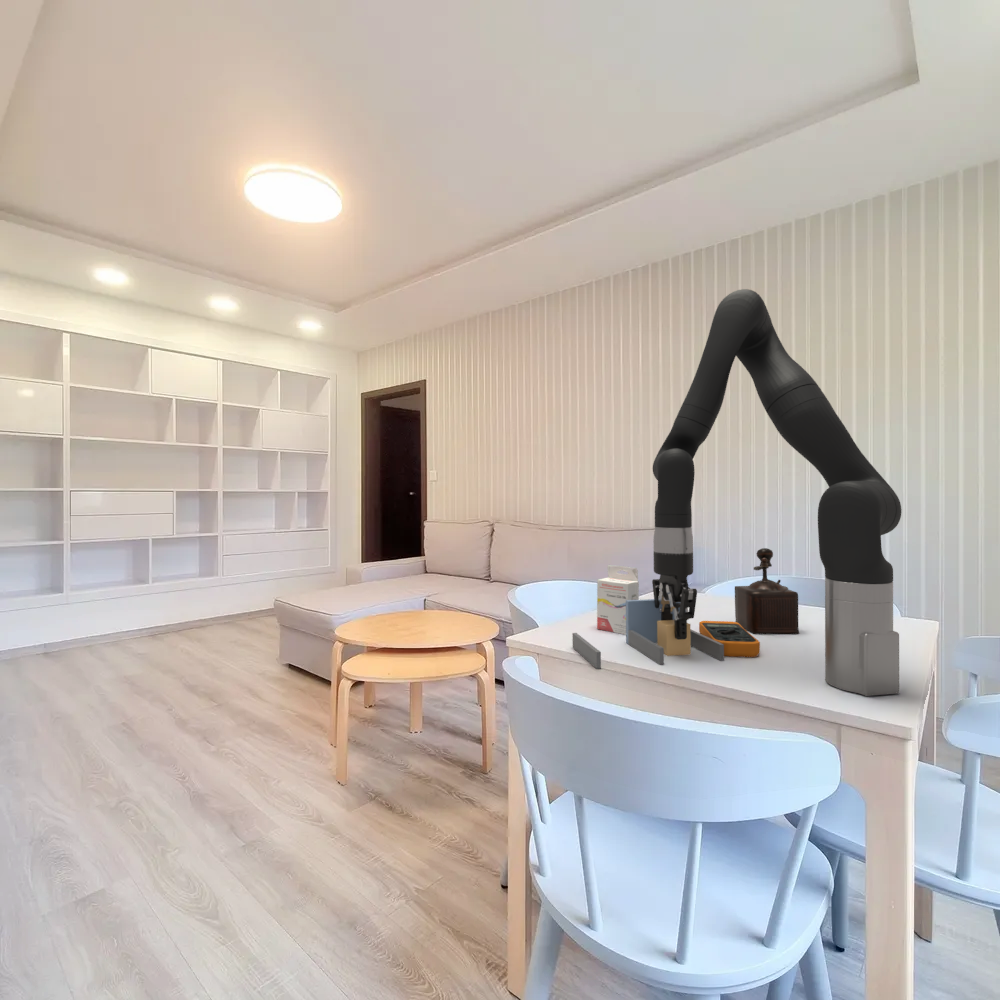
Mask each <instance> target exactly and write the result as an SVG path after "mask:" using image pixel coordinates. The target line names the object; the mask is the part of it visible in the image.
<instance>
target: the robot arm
mask: <svg viewBox="0 0 1000 1000" xmlns="http://www.w3.org/2000/svg"><path fill="white" fill-rule="evenodd" d="M716 307H717V308H716V309H715V312H714V315H713V319H712V322H711V325H710V329H709V333H708V336H707V340H706V342H705V346H704V349H703V352H702V355H701V358H700V361H699V364H698V367H697V370H696V372H695V374H694V377H693V380H692V382H691V384H690V387H689V388H688V391H687V394H686V395H685V398H684V400H683V402H682V404H681V406H680V408H679V410H678V413H677V415H676V417H675V420H674V422H673V424H672V427H671V429H670V431H669V433H668V435H667V436H666V438H665V440H664V442H663V443H662V445H661V447H660V449H659V450H658V452H657V454H656V456H655V458H654V461H653V463H652V474H653V476H654V478H655V479H656V481H657V499H656V501H655V504H654V532H653V544H652V545H653V573H655V574H656V575H659V578H657V579H655V578H654V579H652V581H651V582H652V592H653V599H654V602H655V608H659V612H660V613H661V621H663V620H673V614H672V611H674V617H675V638H676V639H678V640H680V639H686V638H687V623H688V620H689V619H694V618H695V612H696V605H697V597H698V590H697V588H690V587H689V582H688V576H691V575H693V574H694V536H693V528H692V520H693V519H692V518H693V516H692V514H693V513H692V497H693V494H694V493H693V492H694V485H695V470H696V469H695V463H694V460H693V459H694V457H696V456H695V455H696V454H697V451H698V449H699V448H700V446H701V445H702V444H703V443H704V442H705V441H706V439H707V438H708V436H709V434H710V433H711V431H712V428H713V426H714V425H715V422H716V420H717V417H718V415H719V413H720V411H721V409H722V405H723V402H724V398H725V395H726V390H727V387H728V382H729V378H730V374H731V370H732V366H733V364H734V361H735V359H736V357H737V359H738V360H739V361H740V362H741V364H742V365H743V366H744V368H745V369H746V371H747V372H748V374H749V376H750V377H751V379H752V381H753V384H754V388H755V391H756V392H757V394H758V395H757V396H758V398H759V400H760V402H761V404H762V406H763V408H764V410H765V412H766V414H767V416H768V418H769V420H771V422H772V424H773V425H774V427H775V429H776V430H777V432H778V434H779V435H780V436H781V437H782V438H783V439H784V440H785V442H786V443H787V444H788V445H790V446H791V447H792V449H793V450H794V451H797V453H798V454H800V455H801V456H802V457H803V458H804V459H805V460H807V461H808V462H809V463H810V464H811V465H812V466H813V467H814V468H815V469H816V470H817V472H819V474H820V475H821V476H822V478H823V480H825V482H826V484H827V487H828V488H827V489H826V490H825V491H824V492H823V493H822V495H821V497H820V498H819V503H818V507H817V532H818V536H817V537H818V550H819V551H818V552H819V558H820V561H821V563H822V565H823V568H824V585H825V586H824V595H825V596H824V600H825V601H824V605H825V606H824V608H825V609H824V611H825V612H824V613H825V614H824V628H825V629H824V640H825V641H824V644H825V645H824V648H825V649H824V650H825V651H824V652H825V653H824V657H825V661H824V663H825V666H824V667H825V673H824V674H825V676H824V677H825V682H826V683H827V684H829V685H831V686H832V687H834V688H837V689H839V690H843V691H847V692H851V693H856V694H861V695H862V696H865V697H870V696H873V697H874V696H882V695H893V694H894V695H896V694H900V633H899V632H897V631H895V630H894V582H893V581H894V567H893V565H892V564H891V563H890V562H889V560H887V559H886V558H885V556H884V554H883V550H882V536H884V535H887V534H888V533H890V532H892V531H893V530H895V529H896V528H897V526H898V524H899V523H900V521H901V518H902V504H901V501H900V499H899V496H898V495H897V493H896V491H894V489H893V488H892V487H891V486H890V485H889V483H888V482H887V481H886V480H885V479H884V477H883V476H882V475H881V474H880V472H878V470H876V468H875V467H874V466H873V465H872V464H871V462H870V461H869V460H868V458H867V457H866V456H865V455H864V454H863V452H862V451H861V449H860V448H859V447H858V446H857V444H856V443H855V441H854V439H853V438H852V436H851V434H850V432H849V431H848V429H847V427H846V426H845V425H844V423H843V422H842V420H841V418H840V417H839V416H838V414H837V413H836V411H835V409H834V408H833V406H832V404H831V402H830V401H829V399H828V398H827V396H826V394H825V393H824V392H823V391H822V389H821V387H820V386H819V384H818V383H817V382H816V381H815V379H814V378H813V377H812V376H811V375H810V374H809V373H808V372H807V370H806V369H804V368H803V367H802V366H801V365H800V364H799V363H798V362H796V360H794V359H793V358H792V357H791V355H790V354H789V353H788V352H787V351H786V349H785V347H784V345H783V343H782V342H781V340H780V338H779V336H778V334H777V332H776V329H775V327H774V325H773V321H772V319H771V316H770V313H769V311H768V308H767V306H766V304H765V301H764V300H763V298H762V297H761V296H760V294H758V293H757V292H756V291H754V290H752V289H748V288H742V289H737V290H734V291H732V292H730V293H728V294H727V295H726V296H725V297H723V298H722V300H721V301H720V302H719V303H718V305H717V306H716ZM676 602H681V603H676ZM678 608H680V612H679V610H678Z"/></svg>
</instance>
